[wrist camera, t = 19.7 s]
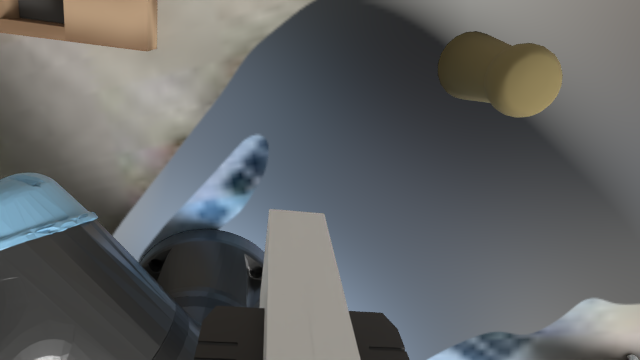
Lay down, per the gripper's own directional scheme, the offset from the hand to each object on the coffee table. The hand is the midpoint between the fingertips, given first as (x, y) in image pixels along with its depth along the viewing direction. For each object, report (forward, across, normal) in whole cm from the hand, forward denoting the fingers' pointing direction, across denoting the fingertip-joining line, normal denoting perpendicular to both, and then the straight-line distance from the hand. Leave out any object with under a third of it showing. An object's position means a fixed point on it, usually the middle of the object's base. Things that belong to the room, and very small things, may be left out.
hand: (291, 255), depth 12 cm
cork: (+30, -17, -4) cm, 34 cm away
